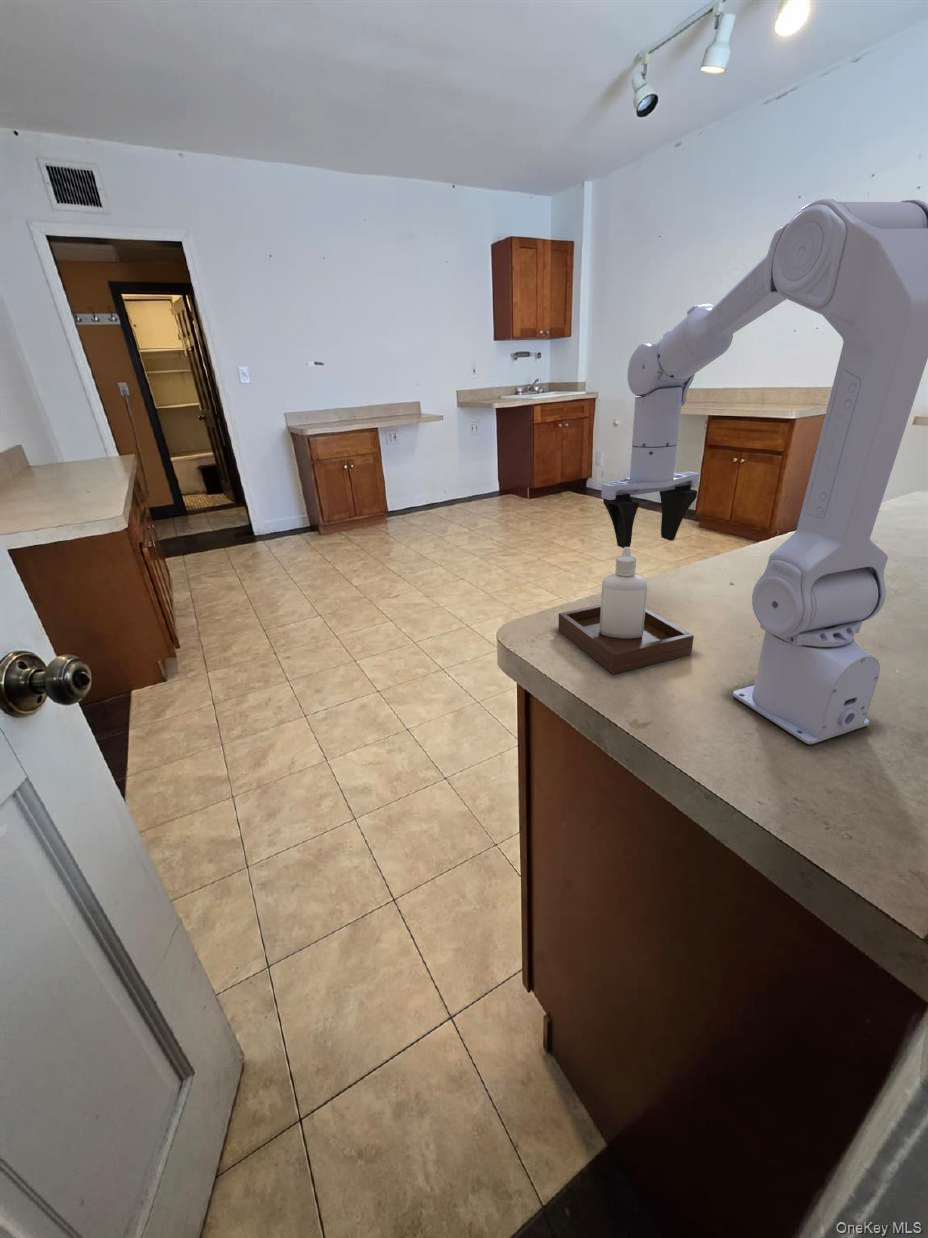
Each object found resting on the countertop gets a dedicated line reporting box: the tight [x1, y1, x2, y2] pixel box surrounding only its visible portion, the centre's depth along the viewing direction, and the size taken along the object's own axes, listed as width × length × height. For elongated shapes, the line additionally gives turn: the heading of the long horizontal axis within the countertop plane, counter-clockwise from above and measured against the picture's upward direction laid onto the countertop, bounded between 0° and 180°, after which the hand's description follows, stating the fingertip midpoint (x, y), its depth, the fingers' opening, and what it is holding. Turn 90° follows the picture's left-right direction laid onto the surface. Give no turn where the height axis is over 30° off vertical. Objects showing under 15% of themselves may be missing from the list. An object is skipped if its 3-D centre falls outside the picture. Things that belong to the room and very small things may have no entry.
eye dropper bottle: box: [600, 546, 648, 639], centre depth 66 cm, size 4×6×12 cm
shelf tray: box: [558, 604, 695, 675], centre depth 69 cm, size 14×12×3 cm
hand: (645, 542), depth 74 cm, fingers open, 7 cm apart
